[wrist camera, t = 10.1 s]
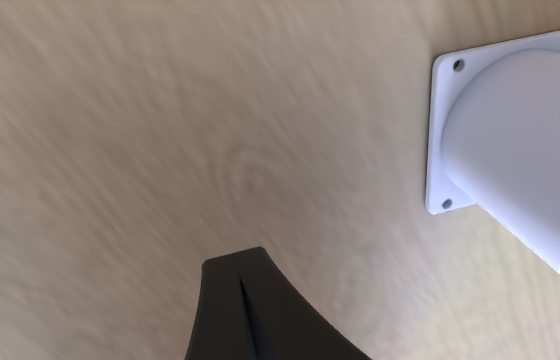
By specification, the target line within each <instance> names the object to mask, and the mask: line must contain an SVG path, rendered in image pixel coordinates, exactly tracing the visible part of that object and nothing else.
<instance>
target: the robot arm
mask: <svg viewBox="0 0 560 360" xmlns="http://www.w3.org/2000/svg"><path fill="white" fill-rule="evenodd" d="M457 60H459V65H458V66H457V67H456V68H455V69H453V66H454V63H455V62H456V61H457ZM445 200H447V201H446V202H445V203H444V204H443V202H444V201H445ZM477 203H478V204H479V205H480V206H481V207H482V208H484V209H485V210H486V211H487V212H488V213H489V214H491V215H492V216H493V217H494V218H495V219H496V220H498V221H499V222H500V223H501V224H502V225H503V226H504V227H506V228H507V229H508V230H509V231H510V232H511V233H513V234H514V235H515V236H516V237H517V238H518V239H520V240H521V241H522V242H523V243H524V244H525V245H527V246H528V247H529V248H530V249H531V250H532V251H533V252H535V253H536V254H537V255H538V256H539V257H540V258H542V259H543V260H544V261H545V262H546V263H547V264H549V265H550V266H551V267H552V268H553V269H554V270H555V271H557V272H558V273H559V274H560V30H559V31H554V32H549V33H544V34H540V35H535V36H530V37H525V38H520V39H515V40H510V41H505V42H500V43H495V44H491V45H486V46H481V47H476V48H471V49H466V50H461V51H456V52H451V53H447V54H443V55H441V56H439V57H438V58H437V59H436V60H435V62H434V64H433V71H432V89H431V107H430V126H429V144H428V162H427V180H426V198H425V207H426V209H427V210H428V211H429V212H430V213H431V214H439V213H443V212H446V211H450V210H454V209H458V208H462V207H466V206H469V205H473V204H477ZM185 360H372V359H371V358H370V357H368V356H367V355H366V354H364V353H363V352H362V351H361V350H359V349H358V348H357V347H356V346H355V345H353V344H352V343H351V342H350V341H349V340H348V339H346V338H345V337H344V336H343V335H342V334H341V333H340V332H339V331H338V330H336V329H335V328H334V327H333V326H332V325H331V324H330V323H329V322H328V321H327V320H326V319H325V318H323V317H322V316H321V315H320V314H319V313H318V312H317V311H316V310H315V309H314V308H313V307H312V306H311V304H310V303H309V302H308V301H307V300H306V299H305V298H304V297H303V296H302V295H301V294H300V293H299V292H298V291H297V290H296V289H295V287H294V286H293V285H292V284H291V283H290V282H289V281H288V279H287V278H286V277H285V276H284V275H283V273H282V272H281V271H280V270H279V268H278V267H277V266H276V264H275V263H274V262H273V260H272V259H271V257H270V256H269V255H268V253H267V251H266V250H265V249H264V248H262V247H260V246H259V247H255V248H251V249H247V250H243V251H239V252H235V253H231V254H227V255H224V256H220V257H216V258H212V259H208V260H205V262H204V263H203V264H202V278H201V289H200V296H199V301H198V307H197V312H196V317H195V321H194V326H193V330H192V334H191V339H190V342H189V346H188V350H187V353H186V356H185Z"/></svg>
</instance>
